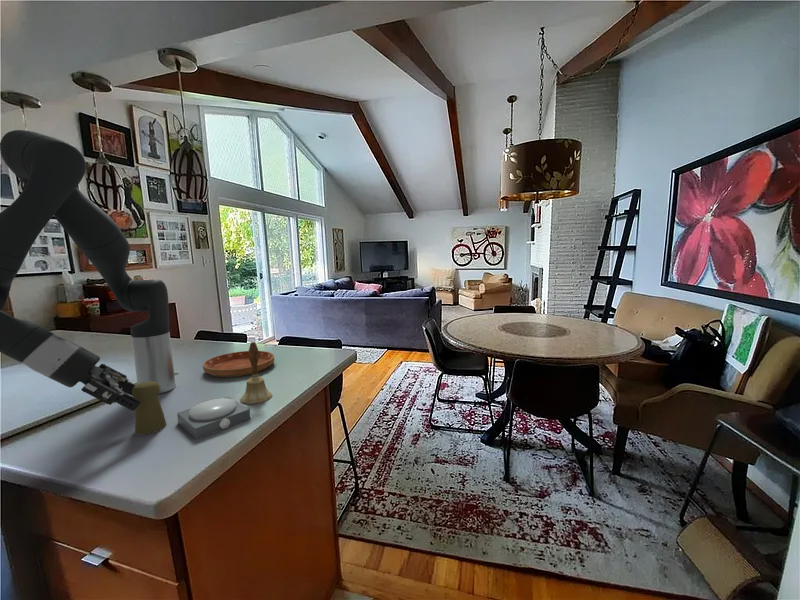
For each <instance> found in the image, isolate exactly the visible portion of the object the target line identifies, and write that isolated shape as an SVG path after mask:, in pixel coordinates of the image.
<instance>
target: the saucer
mask: <svg viewBox="0 0 800 600" xmlns="http://www.w3.org/2000/svg"><path fill="white" fill-rule="evenodd" d="M258 351H259V359H258V364H257V366H258V373H259V372H261V371H263V369H264V370H265V368H266V369H267V368H268V367H269V366H271V365H273V363H274V362H275V354H273V353H272V352H270V351H264V350H258ZM202 369H203V370H202V371H203V372H204V373H207V374H210V375H211V376H213V377H220V378H233V377H243V375H244V376H249V375H252V366H251V362H250V360H249V350H244V351H243V350H241V351H235V352H229V353H223V354H219V355H217V356H213V357H211V358H209V359H207V360H205V361H204V362H203V364H202ZM248 374H249V375H248Z"/></svg>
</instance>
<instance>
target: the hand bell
mask: <svg viewBox="0 0 800 600" xmlns="http://www.w3.org/2000/svg"><path fill="white" fill-rule="evenodd" d="M249 344H250V345H249V348H248V351H249V360H250V362H251V366H252V374H251V377H250V378H248V379H247V380H246V386H245V390H244V391H245V392H244V394H243V395H242V396H241V398H240V399H239V401H240V403H241V404H243V405H257V404H261V403H264V402H265V403H266V402H267V401H269V400H271V398H272V397H273V394H272V392H271V391H270V390H268V388H267V386H266V383H265V379H264V377H263V376H262V377H261V376H259V372H258V366H257V364H258V359H259V351H260V350H259V348H258V346H257V343H256V342H255V341H251V342H249Z"/></svg>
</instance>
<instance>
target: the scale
mask: <svg viewBox="0 0 800 600" xmlns="http://www.w3.org/2000/svg"><path fill="white" fill-rule="evenodd" d="M176 414H177V415H176V416H177V423H178V424H179V425H180V426H181V427H182V428H183V429H185V430H186V431H187V432H188V433H189V434H190V435H191V436H192V437H193V438H194V439H195V440H198V439H201V438H204V437H206V436H207V437H208V435H212V434H214V433H217V432H220V431H222V430H225V429H228V428H230V427H232V426H233V427H234V426H235V425H238V424H240V423H243V422H246V421H249V420H251V410H250V408H248V407H247V406H245V405H244V404H243V403H241V402H238V401H237V400H235V399H234V398H232V397H230V396H226V397H223V398H215V399H210V400H205V401H203V402H200V403H198V404H196V405H194V406H193V407H191V408H188V409H184V410H182V411H177V412H176Z"/></svg>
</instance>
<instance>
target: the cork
mask: <svg viewBox="0 0 800 600" xmlns="http://www.w3.org/2000/svg"><path fill="white" fill-rule="evenodd" d="M135 385H136V386H134V388H133V390H132V395H133V396H132V397H134V398H136V399H138V400H140V405H139V406H138V407H137V408H136V409H135V418H134V421H135V422H134V434H135V433H136V434H135V435H137V434H141V435H140V436H143V435H142V434H146V435H149V434H148V433H151V434H153V433H152V432H154V433H156V432H155V431H157V432H159V431H161V430H160V429H162V428H163V429H164V427H165V426H167V421H166V417H165V413H164V412H163V408H162V404H161V400H160V397H159V392H160V386H159V384H158V383H157V382H154V381H148V382H143V383H139V384H135ZM165 428H166V427H165ZM163 429H162V430H163ZM158 430H159V431H158Z"/></svg>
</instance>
